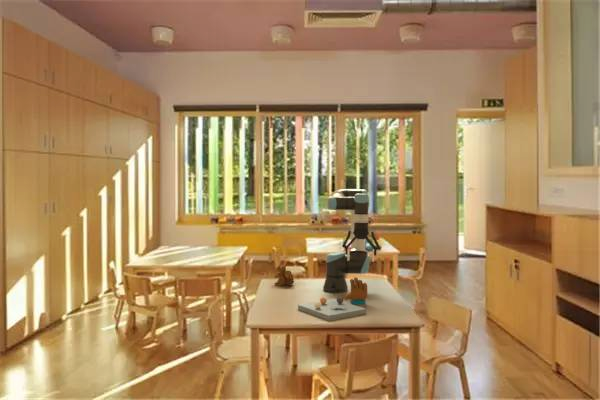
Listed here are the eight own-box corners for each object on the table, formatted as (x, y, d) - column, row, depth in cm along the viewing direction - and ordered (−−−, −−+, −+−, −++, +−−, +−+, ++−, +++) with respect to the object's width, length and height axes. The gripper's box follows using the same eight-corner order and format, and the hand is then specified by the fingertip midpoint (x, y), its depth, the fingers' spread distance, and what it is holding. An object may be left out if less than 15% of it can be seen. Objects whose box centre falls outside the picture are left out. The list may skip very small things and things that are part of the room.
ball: (318, 303, 263) (318, 297, 263) (323, 302, 265) (323, 296, 265) (322, 305, 260) (322, 298, 260) (327, 304, 262) (328, 297, 262)
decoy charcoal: (335, 303, 264) (335, 296, 264) (340, 302, 266) (340, 295, 266) (339, 304, 261) (339, 297, 261) (344, 303, 263) (344, 297, 263)
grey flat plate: (298, 309, 261) (298, 304, 261) (333, 303, 274) (334, 298, 274) (328, 320, 239) (328, 315, 239) (366, 313, 253) (366, 308, 253)
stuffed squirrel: (281, 282, 333) (281, 262, 332) (298, 284, 324) (298, 264, 324) (271, 284, 324) (271, 264, 324) (289, 287, 316) (289, 266, 316)
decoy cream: (313, 308, 253) (313, 301, 253) (318, 307, 255) (318, 300, 255) (317, 309, 251) (317, 302, 250) (322, 308, 253) (322, 301, 252)
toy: (343, 304, 273) (344, 276, 272) (347, 301, 280) (347, 274, 279) (365, 305, 269) (365, 278, 269) (368, 303, 276) (368, 276, 275)
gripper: (337, 222, 270) (337, 261, 271) (383, 223, 264) (383, 263, 265) (339, 221, 277) (339, 258, 278) (384, 222, 271) (384, 260, 272)
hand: (360, 261), depth 271 cm, fingers open, 13 cm apart
